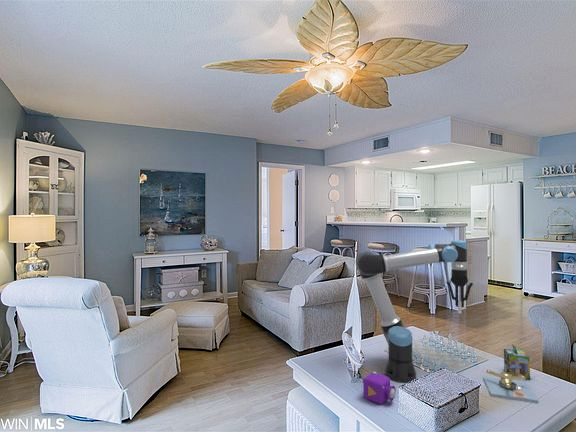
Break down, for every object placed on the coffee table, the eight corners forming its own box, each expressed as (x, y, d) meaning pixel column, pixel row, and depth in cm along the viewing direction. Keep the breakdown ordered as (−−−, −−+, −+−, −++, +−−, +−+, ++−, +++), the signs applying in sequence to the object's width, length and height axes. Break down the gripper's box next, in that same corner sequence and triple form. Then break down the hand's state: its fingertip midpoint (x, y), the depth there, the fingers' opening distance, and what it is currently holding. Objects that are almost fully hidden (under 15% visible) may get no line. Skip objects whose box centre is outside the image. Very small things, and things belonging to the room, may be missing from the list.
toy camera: (392, 409, 142) (392, 386, 142) (361, 400, 149) (361, 378, 149) (399, 397, 151) (398, 375, 151) (369, 389, 158) (369, 368, 158)
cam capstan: (517, 399, 146) (517, 385, 146) (477, 383, 160) (477, 370, 160) (533, 389, 154) (533, 376, 154) (494, 374, 169) (494, 362, 169)
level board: (491, 396, 152) (490, 392, 152) (483, 378, 168) (483, 375, 168) (538, 403, 146) (538, 399, 146) (525, 384, 162) (525, 381, 162)
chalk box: (530, 380, 166) (530, 350, 166) (509, 377, 169) (508, 348, 169) (523, 371, 175) (523, 343, 175) (503, 369, 178) (503, 341, 178)
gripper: (446, 269, 179) (447, 313, 179) (474, 270, 175) (474, 315, 175) (445, 267, 186) (445, 309, 186) (471, 268, 182) (472, 312, 182)
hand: (459, 312), depth 180 cm, fingers closed
